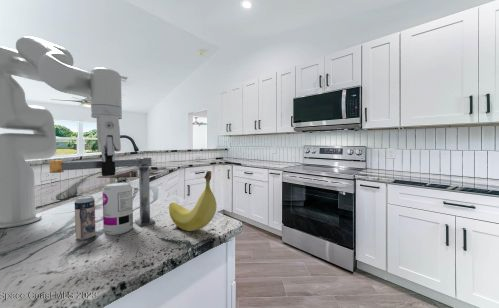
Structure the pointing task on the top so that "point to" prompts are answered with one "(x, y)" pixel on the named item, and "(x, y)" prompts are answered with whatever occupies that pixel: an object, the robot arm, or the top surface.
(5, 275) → the top surface
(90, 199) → the beer can
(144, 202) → the post
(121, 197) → the supplement can
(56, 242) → the top surface
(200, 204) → the banana
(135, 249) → the top surface
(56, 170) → the swing arm
